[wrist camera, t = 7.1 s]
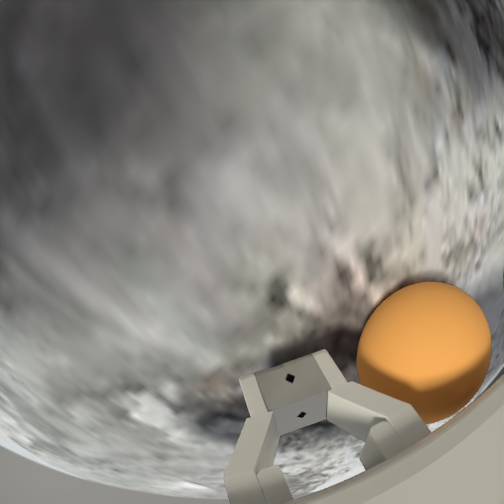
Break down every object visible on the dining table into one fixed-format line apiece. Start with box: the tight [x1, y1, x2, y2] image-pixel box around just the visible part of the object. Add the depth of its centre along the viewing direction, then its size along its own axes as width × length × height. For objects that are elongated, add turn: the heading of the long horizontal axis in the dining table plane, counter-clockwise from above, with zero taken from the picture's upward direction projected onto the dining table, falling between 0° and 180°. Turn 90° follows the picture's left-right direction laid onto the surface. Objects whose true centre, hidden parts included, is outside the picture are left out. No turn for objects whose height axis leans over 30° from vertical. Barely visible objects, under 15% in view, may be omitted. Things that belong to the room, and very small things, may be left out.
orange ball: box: [357, 282, 492, 424], centre depth 9 cm, size 6×6×6 cm
